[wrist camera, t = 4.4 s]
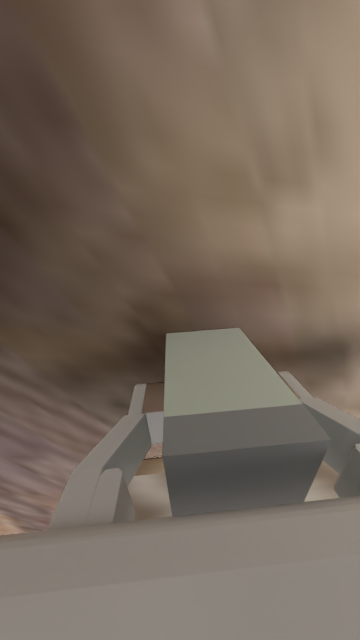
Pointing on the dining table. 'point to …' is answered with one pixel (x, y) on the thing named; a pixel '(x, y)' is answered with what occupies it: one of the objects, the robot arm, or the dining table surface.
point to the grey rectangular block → (233, 427)
